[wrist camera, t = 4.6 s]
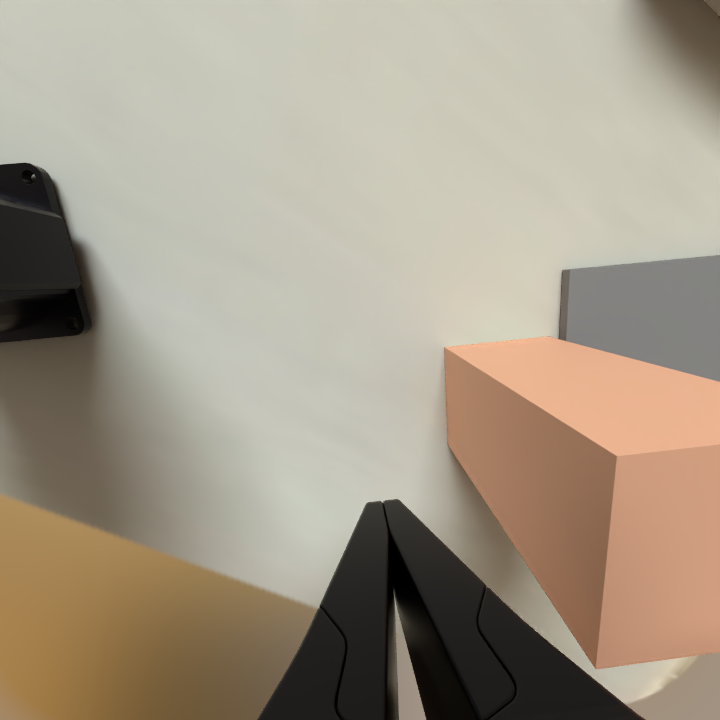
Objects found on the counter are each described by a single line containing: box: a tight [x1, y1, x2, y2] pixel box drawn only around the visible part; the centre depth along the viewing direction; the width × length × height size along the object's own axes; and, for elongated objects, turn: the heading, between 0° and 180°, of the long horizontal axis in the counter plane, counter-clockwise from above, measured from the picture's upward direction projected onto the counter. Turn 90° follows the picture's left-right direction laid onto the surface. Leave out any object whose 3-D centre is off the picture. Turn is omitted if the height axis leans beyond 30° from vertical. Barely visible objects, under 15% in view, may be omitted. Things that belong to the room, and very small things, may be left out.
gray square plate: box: [559, 255, 720, 382], centre depth 16 cm, size 11×11×1 cm
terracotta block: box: [444, 337, 720, 669], centre depth 11 cm, size 5×5×10 cm
